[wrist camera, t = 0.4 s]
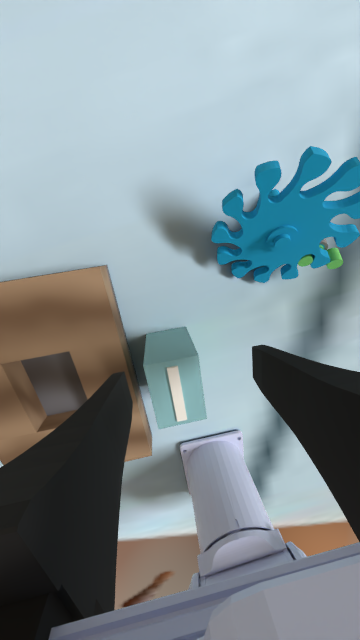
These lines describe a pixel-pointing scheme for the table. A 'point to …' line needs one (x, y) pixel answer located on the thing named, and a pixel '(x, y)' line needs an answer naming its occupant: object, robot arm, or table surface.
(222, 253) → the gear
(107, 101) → the table surface
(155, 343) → the teal striped block
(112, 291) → the keyed socket
